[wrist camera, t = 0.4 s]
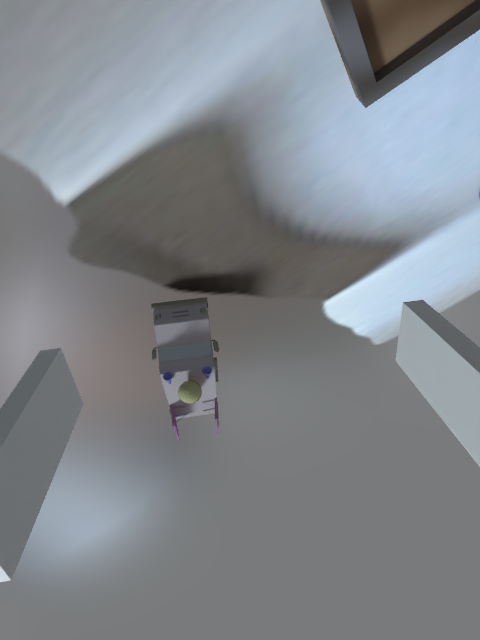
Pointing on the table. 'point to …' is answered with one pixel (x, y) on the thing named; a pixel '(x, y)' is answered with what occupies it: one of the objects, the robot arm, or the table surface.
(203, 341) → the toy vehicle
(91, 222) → the table surface
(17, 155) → the table surface
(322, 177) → the table surface
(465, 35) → the tray
